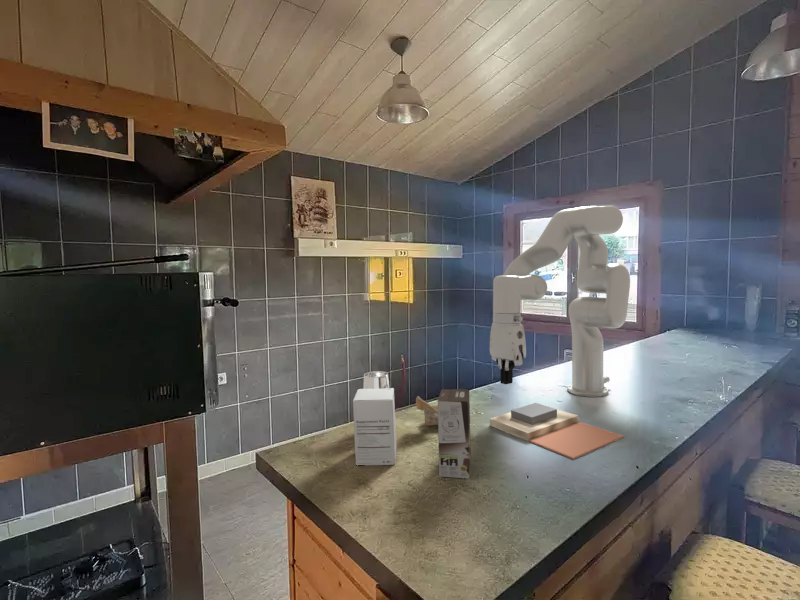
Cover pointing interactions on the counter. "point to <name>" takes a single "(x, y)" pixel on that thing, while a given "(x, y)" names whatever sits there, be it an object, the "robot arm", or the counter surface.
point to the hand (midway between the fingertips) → (506, 383)
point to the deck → (529, 430)
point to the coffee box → (454, 433)
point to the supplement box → (374, 426)
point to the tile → (533, 413)
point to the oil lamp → (428, 411)
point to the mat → (576, 439)
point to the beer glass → (376, 380)
